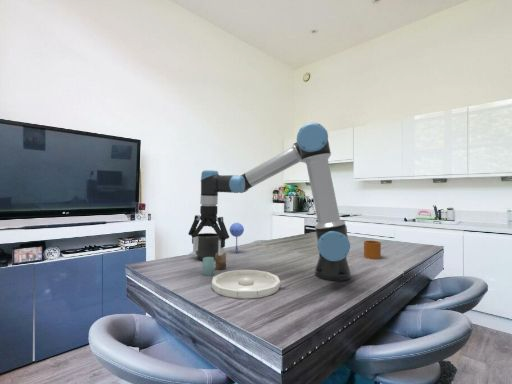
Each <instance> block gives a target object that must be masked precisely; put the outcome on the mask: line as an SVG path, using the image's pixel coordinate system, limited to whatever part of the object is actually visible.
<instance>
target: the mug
mask: <svg viewBox="0 0 512 384" xmlns="http://www.w3.org/2000/svg"><path fill="white" fill-rule="evenodd" d="M381 244H382V243H381V242H380V241H378V240H363V257H364V258H365V259H368V258H369V260H380V258H381V257H382V255H381V252H382V248H381V246H382V245H381ZM381 259H382V258H381Z"/></svg>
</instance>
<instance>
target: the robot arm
mask: <svg viewBox="0 0 512 384" xmlns="http://www.w3.org/2000/svg"><path fill="white" fill-rule="evenodd" d="M331 156H332V152H331V147H330V142H329V133H328V130H327V129H326V127H324V126H323V125H322V124H320V123H318V122H308V123H306V124H304V125H303V126H301V127H300V129H299V130H298V131H297V135H296V142H294V143H293V144H292V147H289V148H288V149H286V150H284V151H283V152H281V153H279V154H276V156H274V157H272V158H270V159H267V160H266V161H263V162H262V163H260V164H259V165H256V166H255V167H253V168H252V169H249V170H248V171H246V172H244V173H242V174H241V175H238V174H234V175H231V174H229V175H227V174H226V175H224V174H223V175H221V174H219V171H218V170H207V169H206V170H203V171H202V172H201V176H200V209H199V211H200V214H198V215H197V214H195V215H194V220H193V222H192V224H191V226H190V228H189V231H188V235H189V236H191V244H192V252H193V253H194V252H195V251H198V234H200V233H201V232H202V230H203V228H204V227H209V228H212V229H213V230H214V232H215V233H216V234H217V235H218V236H219V238H220V240H219V250H218V255H219V256H220V255H223V253H224V248H226V240H228V239H230V235H229V232H228V230H227V228H226V225H225V222H224V216H219V217H218V206H217V205H218V203H219V202H218V200H219V199H218V198H219V197H218V196H219V195H218V194H219V193H234V194H239V193H240V194H242V193H246V192H248V191H249V190H250V189H251V188H253V187H255V186H257V185H259V184H261V183H262V182H264V181H266V180H268V179H269V178H272V177H275V176H276V175H278V174H280V173H281V172H284V171H286V170H287V169H289V168H291V167H293V166H294V165H296V164H299V163H303V164H306V168H307V173H308V174H307V175H308V179H309V185H310V188H311V189H310V190H311V195H312V200H313V204H314V209H315V213H316V219H317V223H316V225H315V226H314V229H315V235H316V240H317V250H318V252H319V253H318V256H319V257H318V259H317V263H316V265H315V268H314V275H315V276H316V277H317V278H318V279H319V278H320V279H322V280H326V281H337V282H338V281H347V280H350V279H351V275H352V274H351V273H352V272H351V270H350V266H349V264H348V258H347V257H348V255H349V253H350V250H351V242H350V240H349V237H348V233H347V232H348V229H347V228H348V226H347V224H346V222H344V221H343V220H341V218H340V213H339V209H338V208H339V207H338V203H337V198H336V193H335V187H334V183H333V179H332V173H331V168H330V163H329V162H330V161H329V159H330V157H331ZM196 236H197V237H196ZM195 253H196V252H195Z"/></svg>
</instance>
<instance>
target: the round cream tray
mask: <svg viewBox="0 0 512 384" xmlns="http://www.w3.org/2000/svg"><path fill="white" fill-rule="evenodd" d="M280 287H281V279H280V278H279V276H278V275H276V274H273V273H272V272H268V271H265V270H263V271H262V270H256V269H236V270H229V271H223V272H221V273H219V274H216V275H215V276H214V275H213V277H212V280H211V288H212V290H213V291H214V292H215V293H216V294H218V295H219V296H224V297H227V298H233V299H242V300H244V299H245V300H247V299H249V300H251V299H258V298H264V297H268V296H271V295H273V294H275V293H277V292H278V291H279V290H280Z"/></svg>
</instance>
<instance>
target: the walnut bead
mask: <svg viewBox="0 0 512 384" xmlns="http://www.w3.org/2000/svg"><path fill="white" fill-rule="evenodd" d="M226 269H227V253H226V252H223V255H220V256H219V255H218V253H216V254H215V258H214V270H218V271H223V270H226Z"/></svg>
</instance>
